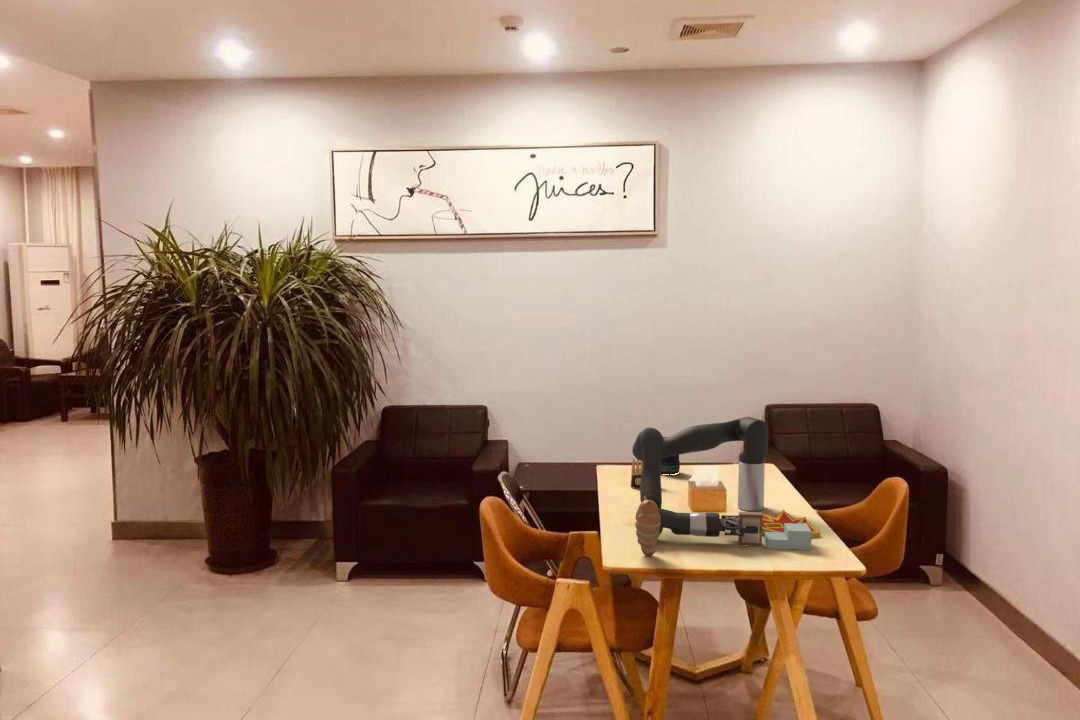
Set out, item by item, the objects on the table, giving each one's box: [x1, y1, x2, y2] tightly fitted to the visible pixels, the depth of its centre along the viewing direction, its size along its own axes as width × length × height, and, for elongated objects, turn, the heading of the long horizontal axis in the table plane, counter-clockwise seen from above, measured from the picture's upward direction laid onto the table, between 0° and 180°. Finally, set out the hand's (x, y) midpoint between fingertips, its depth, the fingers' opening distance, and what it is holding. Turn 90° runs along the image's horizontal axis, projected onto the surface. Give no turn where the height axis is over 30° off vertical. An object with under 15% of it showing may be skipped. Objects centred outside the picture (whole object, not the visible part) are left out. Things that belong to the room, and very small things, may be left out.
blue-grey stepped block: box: [764, 523, 812, 551], centre depth 270 cm, size 8×13×6 cm, turn 83°
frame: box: [737, 511, 763, 547], centre depth 271 cm, size 3×7×10 cm, turn 83°
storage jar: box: [661, 436, 681, 475], centre depth 368 cm, size 10×10×15 cm
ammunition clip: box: [630, 457, 643, 488], centre depth 345 cm, size 11×2×12 cm, turn 93°
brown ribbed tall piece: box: [634, 496, 661, 557], centre depth 260 cm, size 9×8×18 cm
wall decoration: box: [762, 509, 821, 538], centre depth 290 cm, size 22×31×4 cm
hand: (756, 526), depth 271 cm, fingers open, 8 cm apart
